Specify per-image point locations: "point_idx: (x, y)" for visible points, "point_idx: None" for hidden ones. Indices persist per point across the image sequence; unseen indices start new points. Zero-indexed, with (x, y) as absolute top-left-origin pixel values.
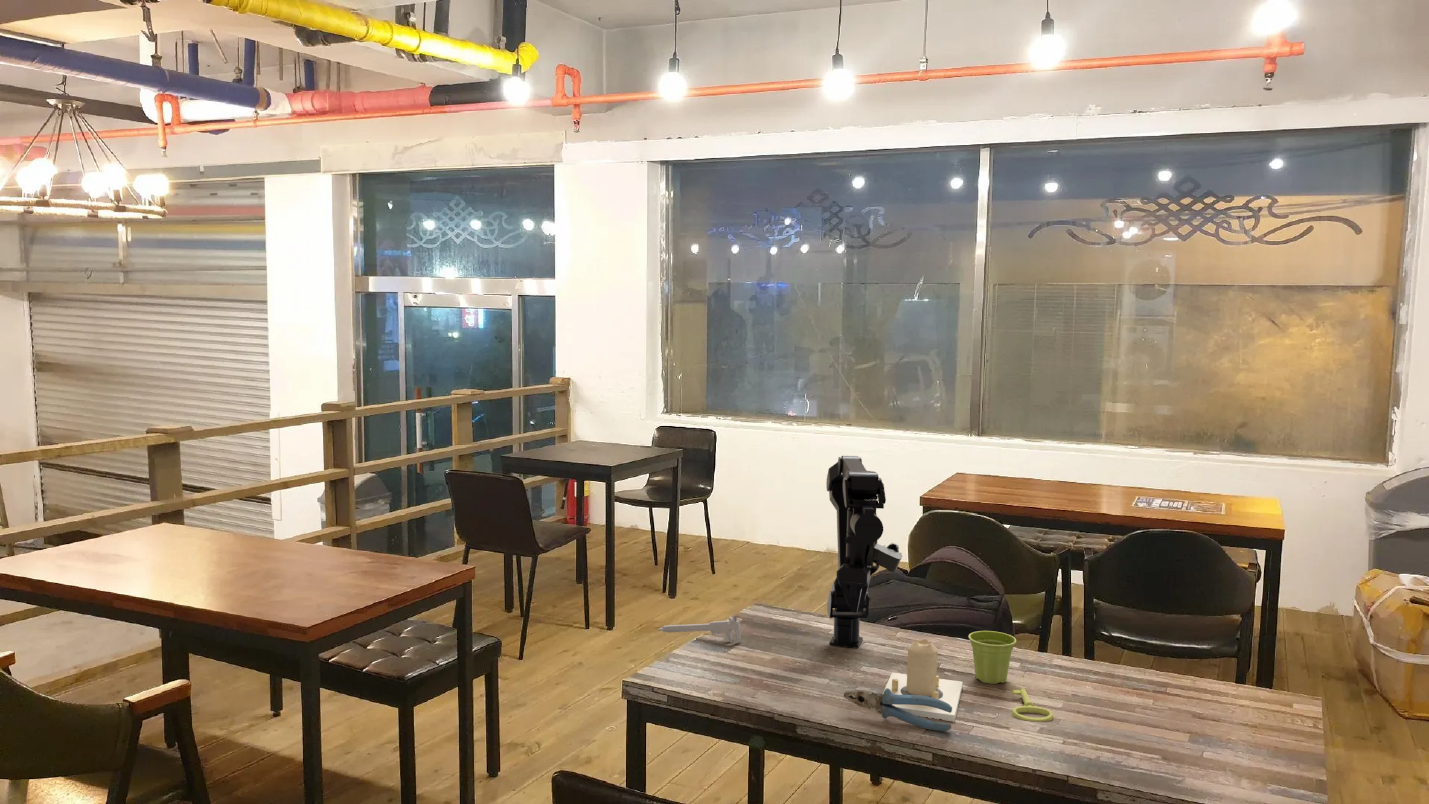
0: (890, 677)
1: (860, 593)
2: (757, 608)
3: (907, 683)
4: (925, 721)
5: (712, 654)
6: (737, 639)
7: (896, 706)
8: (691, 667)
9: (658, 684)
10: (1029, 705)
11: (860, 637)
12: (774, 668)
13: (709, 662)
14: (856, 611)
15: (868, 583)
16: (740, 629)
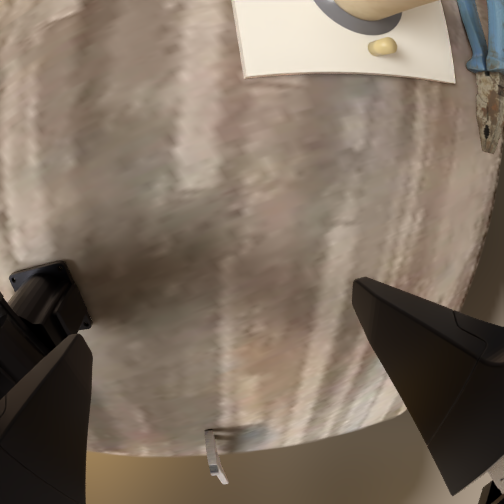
0: (291, 71)
1: (483, 328)
2: None
3: (391, 15)
4: (475, 5)
5: (283, 427)
6: (213, 436)
7: (447, 46)
8: (347, 413)
9: None
10: None
11: (12, 280)
12: (308, 346)
13: (320, 413)
14: (367, 280)
15: (22, 409)
16: (209, 449)
